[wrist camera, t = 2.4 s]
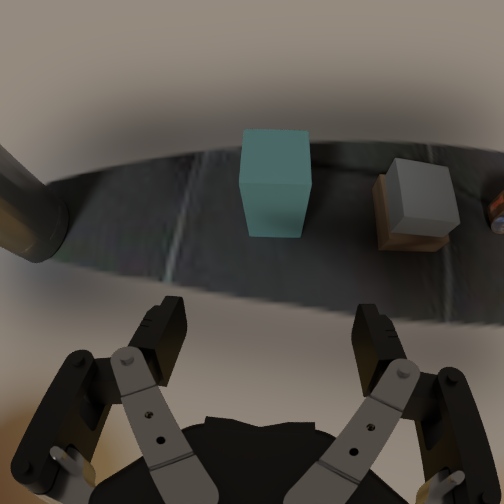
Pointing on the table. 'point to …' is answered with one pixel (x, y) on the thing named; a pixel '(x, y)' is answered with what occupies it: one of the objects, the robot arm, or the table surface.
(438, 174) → the tower top
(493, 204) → the tin
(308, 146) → the block
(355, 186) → the table surface
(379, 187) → the tower base
